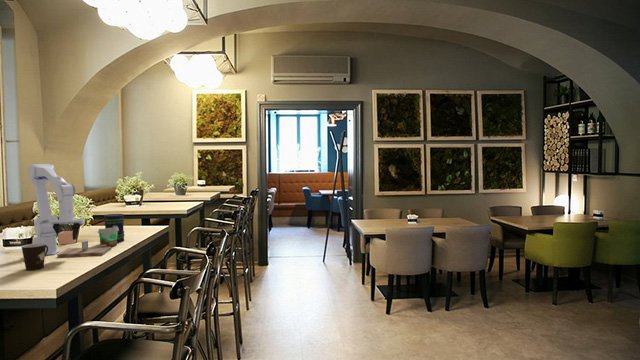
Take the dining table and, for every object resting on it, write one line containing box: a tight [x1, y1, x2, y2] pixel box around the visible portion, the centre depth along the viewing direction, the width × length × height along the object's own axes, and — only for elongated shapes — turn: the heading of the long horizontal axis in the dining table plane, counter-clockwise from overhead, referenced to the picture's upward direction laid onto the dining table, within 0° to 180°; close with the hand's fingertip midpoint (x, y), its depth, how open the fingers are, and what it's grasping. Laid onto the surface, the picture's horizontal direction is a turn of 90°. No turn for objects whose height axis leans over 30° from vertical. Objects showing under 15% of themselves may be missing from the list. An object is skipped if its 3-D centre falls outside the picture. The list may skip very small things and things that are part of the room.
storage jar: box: [104, 213, 125, 244], centre depth 249 cm, size 10×10×15 cm
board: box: [56, 246, 112, 258], centre depth 218 cm, size 20×14×2 cm
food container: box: [97, 226, 119, 248], centre depth 235 cm, size 12×6×10 cm, turn 168°
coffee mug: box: [21, 243, 48, 272], centre depth 190 cm, size 12×9×10 cm
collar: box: [57, 230, 77, 245], centre depth 207 cm, size 6×6×5 cm
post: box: [81, 240, 89, 251], centre depth 218 cm, size 2×2×4 cm
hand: (67, 239), depth 207 cm, fingers closed on collar, 6 cm apart
